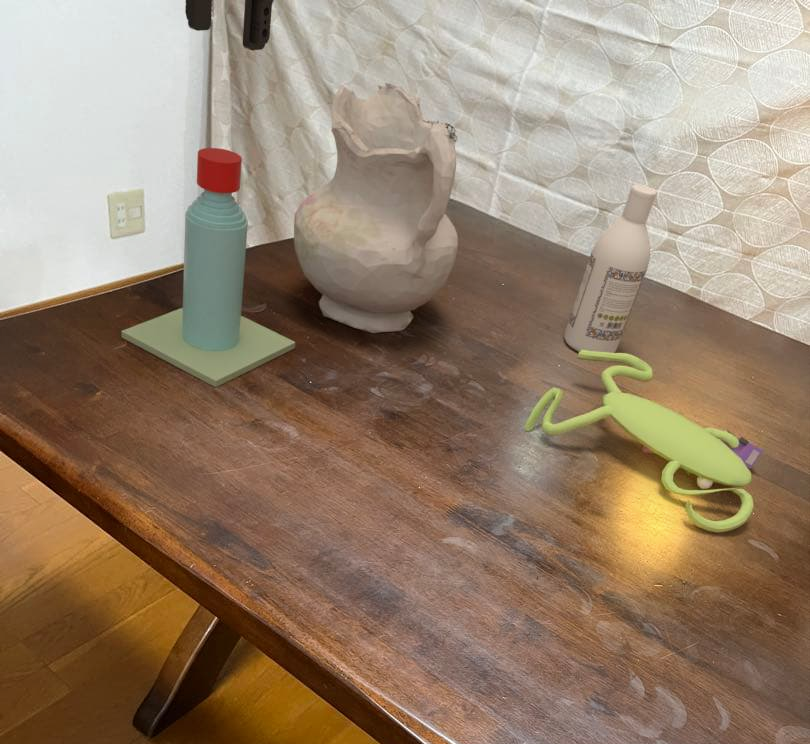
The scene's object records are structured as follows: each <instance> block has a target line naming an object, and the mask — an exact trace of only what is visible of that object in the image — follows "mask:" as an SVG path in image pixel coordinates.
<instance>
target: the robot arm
mask: <svg viewBox="0 0 810 744" xmlns="http://www.w3.org/2000/svg"><path fill="white" fill-rule="evenodd" d="M274 1H275V0H244V11H243V12H244V14H243V26H242V27H243V28H242V29H243V30H242V47H243V48H245V49H247V50H250V51H261V50H263V49H264V48H265V46H266V44H268V42H269V40H270V37H271V23H272V10H273V4H274ZM184 8H185V17H186V20H187V25H188V27H189V29H192V30H194V31H197V32H198V31H199V32H200V31H209V30H210V28H211V27H212V18H213V17H212V16H213V15H212V14H213V13H212V12H213V0H185V7H184Z"/></svg>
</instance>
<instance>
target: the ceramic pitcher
mask: <svg viewBox="0 0 810 744" xmlns="http://www.w3.org/2000/svg"><path fill="white" fill-rule="evenodd" d="M384 84H385V86H382V85H377V87H378V90H377V91H375V92H373V93H372V94H370V95H369V96H368V97H366V98H365V99H362V98H359V97H358V95H356V93H355V92H354V90H352V89H350V88H347V87H345V86H344V85H340V86H339V88H338V90H337V91H336V93H335V95H334V97H333V101H332V104H331V109H330V111H331V133H332V135H333V136H334V142H335V149H336V158H337V159H336V166H335V172H334V174H333V177H332V179H331V180H330V181H329V182H328V183H326V184H325V185H323V186H321V187H319V188H317V189H315V190H314V191H312V192H310V193H309V194H307V196H306V197H305V198H304V199H303V200H302V201H301V202H300V203H299V205H298V207H297V209H296V212H295V213H294V219H293V221H294V222H293V243H294V251H295V255H296V258H297V262H298V264H299V267H300V268H301V271H302V273H303V275H304V276H305V278H306V279H307V280H308V281H309V282H310V284H311V285H312V286H313V287H314V289H315V290H316V291H318V292H319V293H320V294H321V295H322V296H321V298H320V299H319V301H318V302H317V303H318V306H319V309H320V311H321V313H322V316H323V317H325V318H328V319H331V320H334V321H337V322H338V323H341V324H343V325H346V326H348V327H350V328H351V327H352V328H354V329H358V330H360V331H364V332H368V333H371V334H376V333H377V334H378V333H388V332H401V331H404V330H405V329H406V328H407V327H408V326H409V325H410V324H411V322H412V321H413V319H414V315H413V313H412V312H411V311H414V310H416V309H417V308H418V307H420V306H423V305H425V304H426V303H428V302H429V301H430V300H432V299H433V298H434V296H436V295H437V294H438V292H440V291H441V290H442V288H444V286H445V284H446V283H447V281H448V279H449V277H450V275H451V272H452V270H453V268H454V266H455V262H456V259H457V252H458V247H459V238H458V237H459V236H458V233H457V230H456V227H455V226H454V224H453V222H452V221H451V219H450V218H449V216H448V215H447V214H446V210H447V209H448V208H447V207H448V205H449V202H450V198H451V194H452V191H453V187H454V182H455V179H456V172H457V171H456V170H457V153H456V143H457V142H458V141H459V139H458V136H457V135H456V127H455V126H453V125H452V124H450V123H448V122H439V120H434V121H432V120H425V118H424V116H423V113H422V110H421V105H420V100H421V98H419V97H417V98H414V96H412V95H411V93H408V92H407V91H405V90H404V89H403V87H401V86H397V85H394V84H391V83H386V82H385V83H384Z"/></svg>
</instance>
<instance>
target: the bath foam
mask: <svg viewBox="0 0 810 744" xmlns="http://www.w3.org/2000/svg"><path fill="white" fill-rule="evenodd" d="M656 197H657V191H656V189H654V188H652V187H650V186H647V185H643V184H633V185H632V186H631V188H630V190H629V193H628V197H627V199H626V203H625V205H624V208H623V211H622V214H621V216H620V217H618V219H617V220H615V221H614V222H612V224H610V226H608V227H607V228H606V229H605V230H604V231H603V232H602V233H601V235H600V236H599V237H598V239H597V240H596V241H595V243H594V245H593V248H592V250H591V252H590V256H589V259H588V261H587V265H586V267H585V271H584V274H583V277H582V279H581V281H580V282H581V283H580V286H579V289H578V292H577V294H576V297H575V301H574V304H573V307H572V309H571V312H570V315H569V319H568V322H567V326H566V328H565V332H564V337H563V338H564V341H565V343H566V344H567V345H568V346H569V347H570V348H571V349H573V350H574V351H576V352H577V353H579V352H580V351H581V350H588V351H596V352H610V353H616V351H617V350H618V346H619V344H620V342H621V339H622V336H623V333H624V332H625V330H626V326H627V324H628V320H629V317H630V315H631V312H632V310H633V307H634V305H635V302H636V300H637V297H638V294H639V291H640V289H641V287H642V284H643V282H644V279H645V276H646V273H647V271H648V266H649V263H650V258H651V242H650V237H649V232H648V228H647V224H646V223H647V220H648V218H649V215H650V213H651V210H652V207H653V205H654V202H655V199H656Z"/></svg>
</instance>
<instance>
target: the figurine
mask: <svg viewBox="0 0 810 744" xmlns="http://www.w3.org/2000/svg"><path fill="white" fill-rule="evenodd" d="M576 359H577V360H583V361H593V362H607V363H620V364H621V363H622V364H626V365H611V366H609V367H606V368H605V369H604V370H603V371H602V372H601V373H600V381H601V383H602V385H603V387H604V389H605V390H606V392H607V393H605V394H603V395H602V406H599V407H597V408H596V409H593V410H591V411H589V412H586V413H584V414H581V415H577V416H574V417H571V418H568V419H567V420H563V421H561V422H557V423H552V420H553V416H554V414H555V412H556V411H557V409H558V408H559V406H560V404H561V403H562V400H563V397H564V390H562V389H561V388H557V387H555V386H554V387H552V388H551V389H549V390H548V391H546V392H545V394H544V395H542V396H541V398H540V399H539V400H538V401H537V403H536V404H535V406H534V407H533V409H532V411H531V412H530V415H529V416H528V418H527V420H526V422H525V425H524V430H525V431H526V432H530V431H532V430H533V428H534V426H535V425H536V422H537V421H538V419H539V418H540V416H541V415H542V413H543V411H544V410H545V409H546V408H547V406H549V407H548V408H547V410H546V412H545V413H544V415H543V416H542V420H541V422H542V423H541V430H542V432H543V433H546V434H548V435H550V436H551V437H552V436H558V435H563V434H565V433H568V432H571V431H574V430H576V429H580V428H582V427H586V426H589V425H592V424H594V423H596V422H599V421H601V420H603V419H605V418H608V417H610V418H611V419H612V420H613V421H614V422H615V423H616V424H617V425H618V426H619V427H621V429H623V431H625V433H627V434H628V435H629V436H631V437H632V438H633V439H635V440H636V441H637V442H639V443H640V444H641V445H643V446H642V448H641V451H643V453H652V454H653V453H654V454H656V455H658V456H659V457H661V458H663V459H665V460H666V461H668V462H667V464H666V465H665V466H664V468H663V469H662V471H661V475H660V476H661V478H660V482H661V483H662V485H663V487H664V489H665V490H667V491H669V492H671V493H673V494H676V495H683V496H699V495H706V494H712V493H715V492H721V491H725V492H726V491H727V492H732V493H734V494H735V495H737V496H738V497H739V499H740V503H741V504H740V507H739V510H738V511H737V513H736V514H735V515H732V516H730V517H729V518H725V519H723V520H711V519H707V518H705V517H703V516H701V515H700V514H699V513H698V512H697V511H695V510H694V508H693V505H692V502H691V500H690V499H688V500H686V503H685V508H684V510H685V512H686V515H687V517H688V519H689V521H690V522H691V523H692V524H693V525H695V526H696V527H698V528H700V529H702V530H704V531H706V532H709V533H710V532H711V533H715V534H718V533H726V532H729V531H733V530H736V529H738V528H739V527H741V526H742V525H745V523H747V521H748V520H749V519H750V518H751V516H752V513H753V511H754V507H755V505H754V504H755V503H754V500H753V495H752V494H750V493H749V492H748V491H746V490H745V489H744V488H745V487H746V486H748V485H750V484H752V483H753V480H752V479H753V478H752V472H751V470H750V469H752V467H754V465H755V463H756V462H757V460H758V459H759V458H760V457H761V455H762V454H763V452H764V451H763V450H762V449H760V448H758V447H757V446H755V444H752V443H751V442H750V441H749V440H748V439H746V438H744V437H742V436H740V438H739V437H738V436H736V435H735V434H734V433H732V432H731V431H729V430H722V429H717V428H714V427H711V426H707V427H704V428H703V426H701V425H699V424H697V423H696V422H695V421H692V420H690V419H689V418H687V417H685V416H684V415H682V414H680V413H678V412H676V411H675V410H673V409H670V408H668V407H666V406H665V405H664V406H663V405H662V404H659V403H657V402H655V401H653V400H651V399H647V398H644V397H641V396H638V395H634V394H632V393H628V392H622V391H621V390H620V388H619V387H618V385H617V383H616V382H615V381H614V379H613V378H614V377H624V378H625V377H626V378H630V379H633V380H635V381H639V382H642V383H647V382H650V381H651V380H652V379H653V377H654V375H653V374H654V372H653V368H652V367H651V366H650V365H649V364H648V363H647V362H646V361H644V360H642V359H641V358H640V357H638V356H636V355H633V354H630V353H628V352H626V353H625V352H615V353H610V352H596V351H588V350H581V351H580V352H578V354H577V356H576ZM627 365H628V366H627ZM551 402H552V403H551ZM549 404H550V405H549ZM680 468H681V469H683V470H685V472H686V476H687V477H688V476H690V475H691V474H694V475H695V476H697V478H696V484H697V486H698V488H700V490H699V489H684V488H681V487H678V486H677V484H676V483H675V481H674V475H675V473H676V472H677V471H678V470H679V469H680ZM714 483H717V484H721V485H724V486H727V488H716V489H710V488H711V487H712V486H713V484H714ZM728 486H729V488H728ZM736 487H740V488H736Z"/></svg>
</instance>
